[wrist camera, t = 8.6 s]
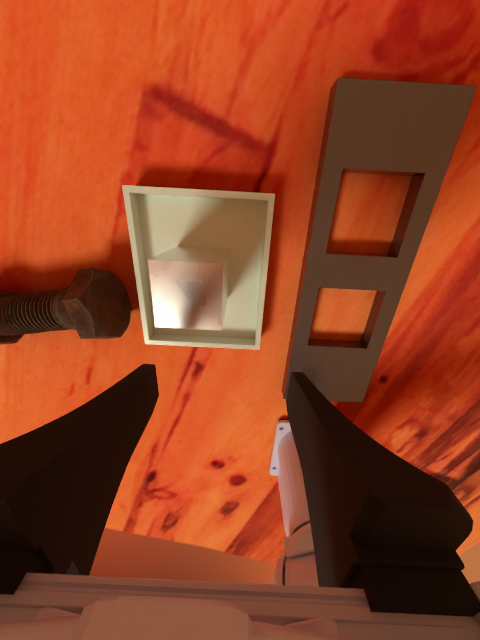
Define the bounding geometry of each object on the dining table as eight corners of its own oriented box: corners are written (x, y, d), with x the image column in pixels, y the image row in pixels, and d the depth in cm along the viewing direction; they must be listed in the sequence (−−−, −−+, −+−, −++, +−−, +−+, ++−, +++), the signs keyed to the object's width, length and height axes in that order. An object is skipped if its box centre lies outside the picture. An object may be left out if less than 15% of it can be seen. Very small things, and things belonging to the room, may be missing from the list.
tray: (258, 339, 22) (259, 349, 20) (152, 334, 21) (145, 344, 20) (272, 195, 17) (275, 193, 15) (134, 188, 16) (122, 185, 15)
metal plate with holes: (357, 394, 24) (362, 402, 23) (281, 390, 24) (283, 398, 23) (459, 95, 14) (477, 85, 13) (331, 88, 14) (338, 77, 13)
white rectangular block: (227, 297, 19) (221, 330, 14) (180, 295, 19) (155, 326, 14) (229, 248, 18) (223, 263, 12) (177, 245, 18) (147, 259, 12)
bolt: (-12, 299, 22) (132, 282, 21) (-13, 351, 22) (135, 337, 20) (-108, 286, 17) (81, 260, 15) (-112, 355, 16) (84, 336, 15)
